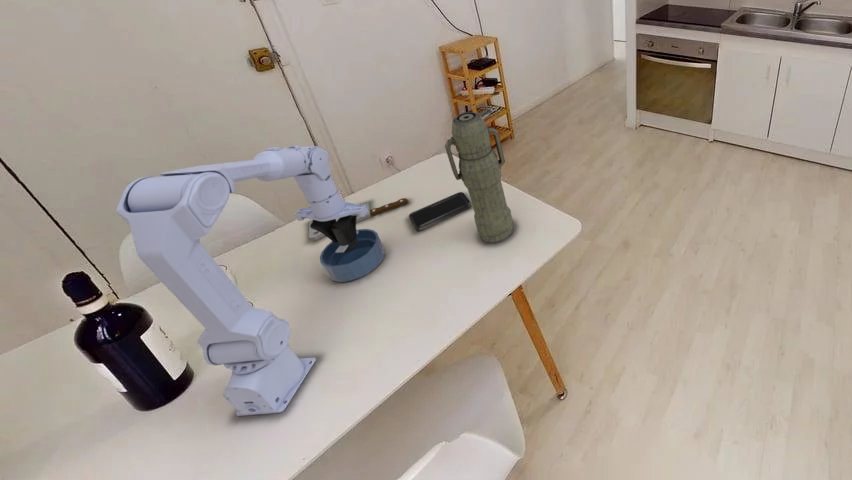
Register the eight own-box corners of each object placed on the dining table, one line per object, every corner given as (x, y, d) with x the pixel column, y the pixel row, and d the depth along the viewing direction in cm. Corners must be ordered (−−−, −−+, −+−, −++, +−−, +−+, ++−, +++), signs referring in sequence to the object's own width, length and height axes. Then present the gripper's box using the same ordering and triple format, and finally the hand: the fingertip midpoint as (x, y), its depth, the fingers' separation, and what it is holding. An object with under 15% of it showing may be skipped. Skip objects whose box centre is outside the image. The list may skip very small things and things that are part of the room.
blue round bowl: (370, 281, 95) (362, 265, 92) (317, 285, 95) (307, 268, 92) (394, 243, 106) (387, 227, 103) (347, 246, 105) (338, 230, 102)
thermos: (525, 229, 109) (499, 115, 91) (481, 252, 102) (445, 133, 85) (511, 212, 115) (484, 102, 97) (469, 232, 108) (433, 118, 91)
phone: (471, 203, 116) (415, 229, 108) (472, 206, 117) (416, 232, 109) (461, 190, 122) (407, 214, 113) (462, 193, 122) (409, 217, 114)
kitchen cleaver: (404, 187, 124) (408, 204, 117) (405, 190, 125) (409, 206, 117) (308, 220, 113) (305, 240, 106) (309, 223, 114) (307, 243, 106)
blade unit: (350, 256, 95) (339, 234, 91) (333, 257, 95) (320, 235, 91) (365, 235, 100) (354, 214, 97) (348, 236, 100) (337, 215, 97)
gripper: (365, 181, 93) (385, 225, 100) (300, 184, 93) (324, 228, 99) (348, 201, 87) (370, 246, 94) (278, 205, 87) (305, 250, 93)
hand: (345, 239), depth 96 cm, fingers closed on blade unit, 3 cm apart
